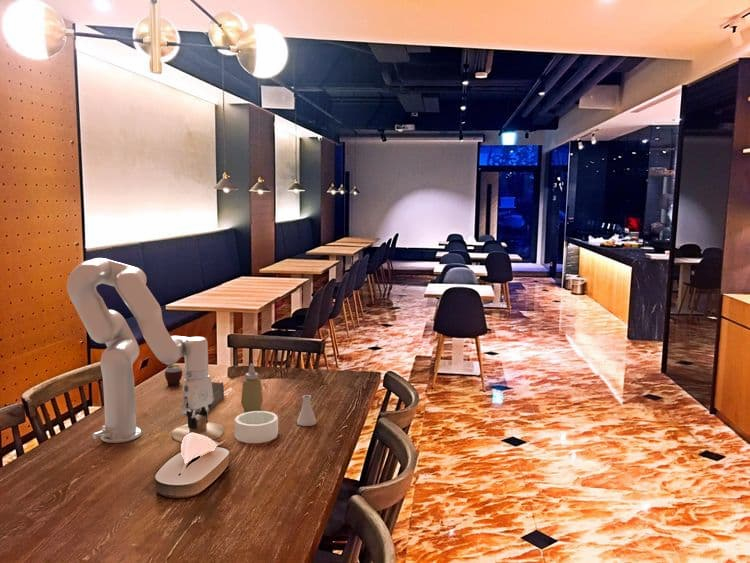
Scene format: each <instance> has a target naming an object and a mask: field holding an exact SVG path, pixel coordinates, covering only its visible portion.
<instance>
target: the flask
mask: <svg viewBox="0 0 750 563" xmlns="http://www.w3.org/2000/svg"><path fill="white" fill-rule="evenodd" d="M311 399H312V395H309V394H304V395H302V407H301V409H300V412H299V414H298V418H297V421H296V425H298V426H300V427H312V426H314V425H316V424H317V420H316V417H315V414H314V411H313V408H312V404H311Z"/></svg>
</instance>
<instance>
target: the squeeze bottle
mask: <svg viewBox="0 0 750 563" xmlns="http://www.w3.org/2000/svg"><path fill="white" fill-rule="evenodd" d="M244 375H245V378H244V379H242V386H241V387H242V389H241V398H240V403H241V405H242V408H243V411H244V413H246V412H251V411H261V408H262V406H263V405H262V404H263V402H264V400H263V399H264V398H263V391H262V388H263V387H262V380H261V379H260V378H259V373H258V372H257V371H256V370H255V365H254V364H253V363H250V364H249V368H248V372H246V373H245V374H244Z"/></svg>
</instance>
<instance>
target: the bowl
mask: <svg viewBox="0 0 750 563" xmlns="http://www.w3.org/2000/svg"><path fill="white" fill-rule="evenodd" d="M278 435H279V416H278V415H277V414H276V413H275V412H271V411H268V410H260V411H251V412H242V413H241V414H239V415H236V416H235V418H234V438H235V439H236V441H238V442H242V443H245V444H261V443H268V442H271V441H272V440H275V439H276V438H278Z"/></svg>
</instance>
